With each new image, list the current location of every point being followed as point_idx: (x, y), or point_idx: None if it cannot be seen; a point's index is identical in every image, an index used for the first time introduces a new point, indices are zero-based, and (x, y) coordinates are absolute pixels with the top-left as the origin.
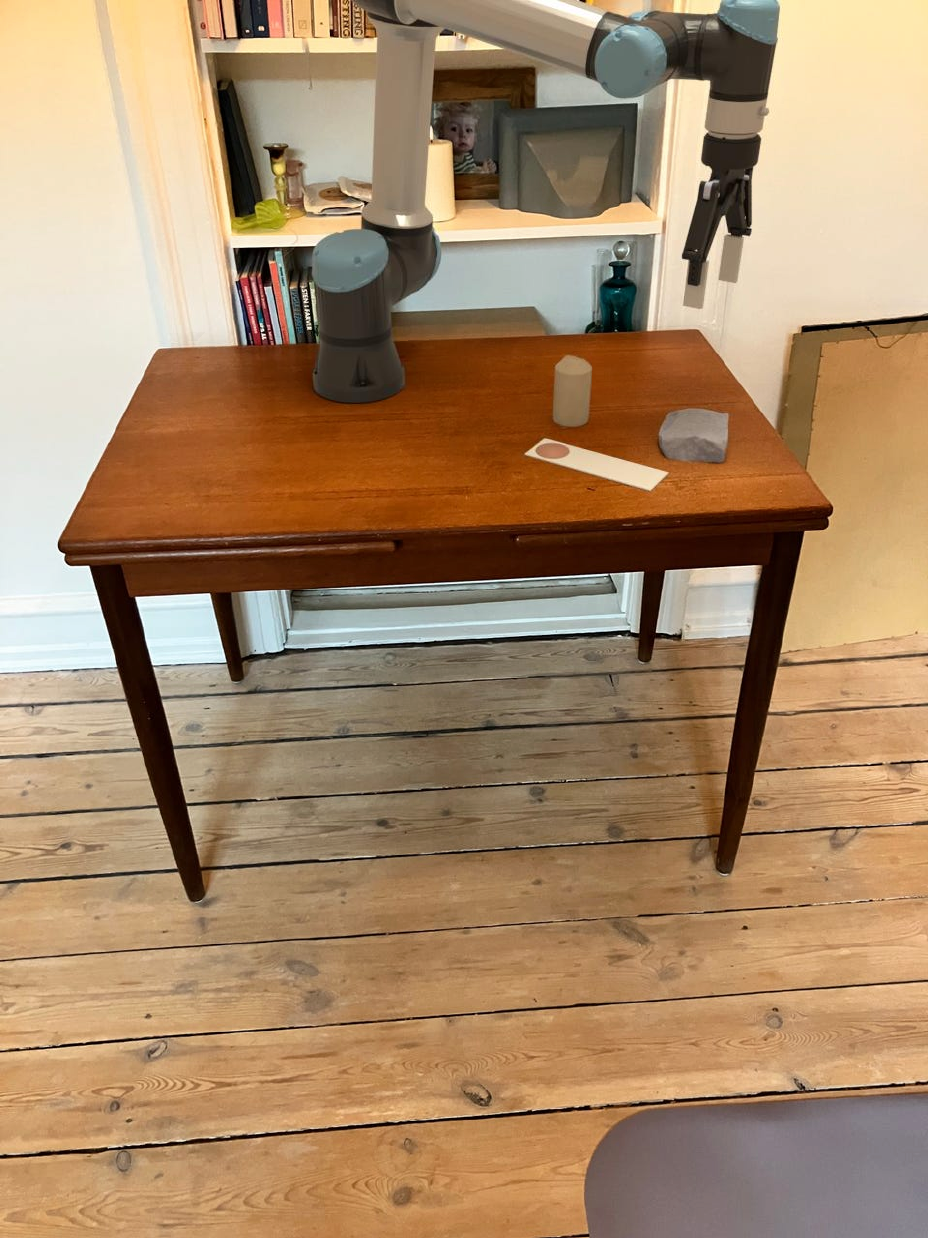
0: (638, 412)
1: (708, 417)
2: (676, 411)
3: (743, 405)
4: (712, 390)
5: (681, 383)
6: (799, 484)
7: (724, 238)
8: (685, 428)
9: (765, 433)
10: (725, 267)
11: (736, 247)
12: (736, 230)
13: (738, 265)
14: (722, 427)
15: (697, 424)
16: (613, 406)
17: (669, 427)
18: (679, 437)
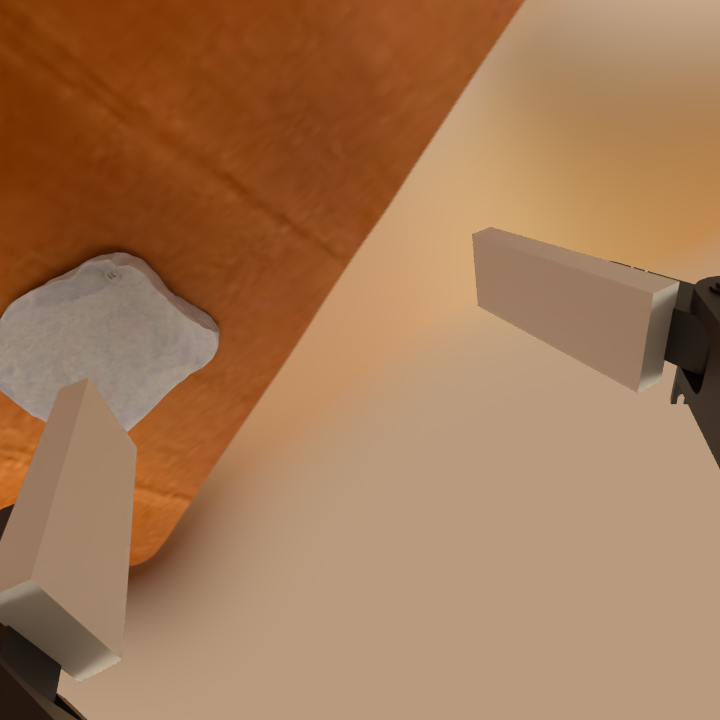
0: (96, 130)
1: (156, 349)
2: (119, 271)
3: (336, 276)
4: (350, 180)
5: (330, 93)
6: (167, 523)
7: (632, 291)
8: (59, 360)
9: (269, 380)
10: (511, 274)
11: (590, 348)
12: (698, 352)
13: (529, 329)
14: (139, 406)
15: (96, 369)
16: (48, 37)
17: (55, 304)
18: (3, 391)
